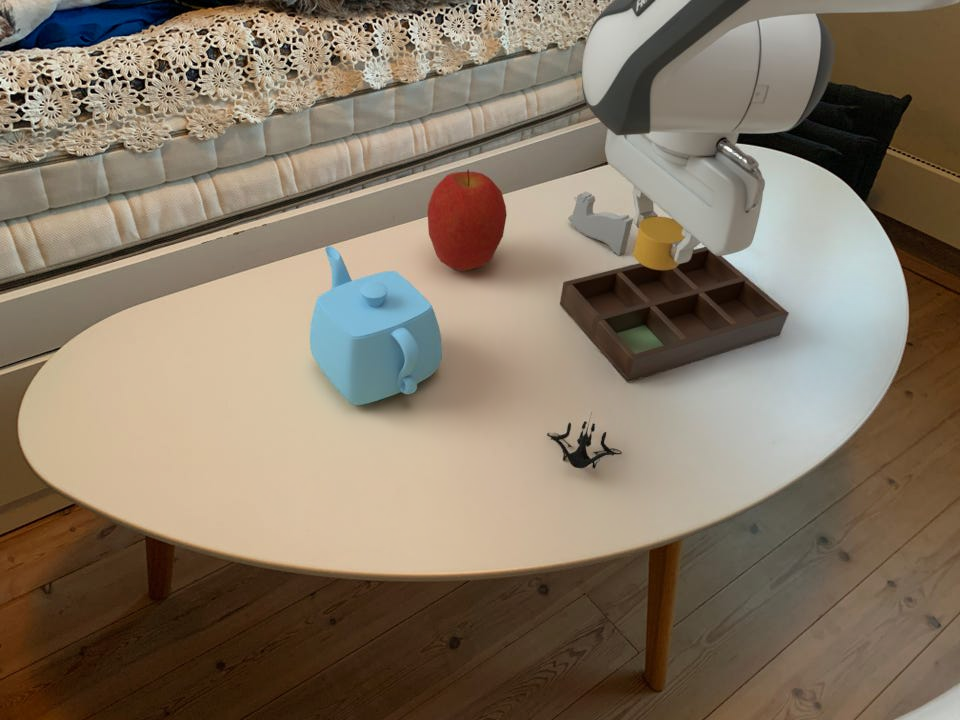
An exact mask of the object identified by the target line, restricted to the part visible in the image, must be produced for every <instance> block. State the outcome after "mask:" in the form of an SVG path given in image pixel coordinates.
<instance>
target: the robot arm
mask: <svg viewBox="0 0 960 720" xmlns="http://www.w3.org/2000/svg"><path fill="white" fill-rule="evenodd" d="M958 3H960V0H613V1H612V2H610V3H609V5H607V6H606V7H605V8H604V9H603V11H601V13H600V14H599V15H598V16H597V18H595V20H594V22H593V24H592V26H591V28H590V29H589V32H588V35H587V39H586V42H585V46H584V52H583V57H582V64H581V65H582V66H581V87H582V88H581V89H582V93H583V99H584V102H585V104H586V106H587V108H588V109H589V110H590V111H591V113H593V115H594V116H595V117H596V119H598V121H600V123H602V124H603V125H604V126H605V127H606V129H607V131H606V136H605V137H606V138H605V144H604V146H605V147H604V153H605V157H606V161H607V164H608V165H609V166H610V167H611V168H613V169H614V170H615V171H616V172H617V173H619V174H620V175H621V176H622V177H623V178H625V179H626V180H627V181H628V182H629V183H630V184H632V185H633V187H632V191H631V193H632V198H633V204H634V209H635V214H634V218H633V224H634V225H635V226H636V227H637V228H638V229H639V226H640V223H641V222H642V221H643V220H644V219H646V218H649V217H656V216H658V214H657V213H656V212H655V211H654V204H655V206H657V207H658V208H659V209H661V210H662V211H663V212H664V213H665V214H666V215H667V216H669V218H671V219H674V220H675V221H676V222H677V223H678V224H679V225H681V226H682V227H683V230H682V235H683V236H684V237H685V238H684V239H683V240H680V242H678V241H676V242H672V243H671V247H670V252H669V256H670V257H671V258H672V259H673V260H674V261H675V262H676V263H678V264H681V263H685V262H688V261H689V260H690V259H691V256H692V253H693V250H695V248H696V247H697V246H699V245H702V246H703V247H706V248H707V249H709V250H710V251H711V252H712V253H713V254H715V255H716V256H722V257H724V256H727V255H732V254H736V253H739V252H742V251H744V250H746V249H747V248H749V247H750V246H751V245H752V243H753V241H754V238H755V236H756V235H755V234H756V232H757V227H758V223H759V219H760V214H761V209H762V203H763V195H764V190H765V186H766V181H765V180H766V179H764V176H763V174H762V171H761V169H760V168H759V167H760V164H759V162H758V160H756V158H754V157H753V156H751V155H749V154H746V153H745V152H744V151H742V150H741V149H740V148H739V147H738V146H737V142H738V139H739V136H740V134H775V133H780V132H781V133H782V132H789V131H791V130H793V129H795V128H796V127H798V126H799V125H800V124H801V123H802V122H803V121H804V120H805V119H807V118H808V117H809V115H811V113H812V112H813V110H814V109H816V107H817V106H818V104H819V102H820V101H821V99H822V97H823V95H824V93H825V91H826V89H827V87H828V85H829V82H830V79H831V75H832V71H833V67H834V63H835V56H836V46H835V42H834V39H833V36H832V34H831V32H830V30H829V28H828V25H827V24H826V23H825V21H824V20H823V19H822V17H821V16H820V15H819V14H846V13H847V14H848V13H849V14H850V13H852V14H853V13H898V12H900V13H902V12H918V11H928V10H935V9H940V8H944V7H948V6H952V5H955V4H958ZM893 720H960V682H958V683H957V684H955V685H954V686H952V687H951V688H949V689H948V690H946V691H945V692H943V693H942V694H940V695H938V696H936V697H934V698H933V699H931V700H930V701H928V702H926V703H925V704H923V705H921V706H919V707H917V708H916V709H914V710H911V711H909V712H906V713H905V714H902V715H900V716H898V717H896V718H894V719H893Z"/></svg>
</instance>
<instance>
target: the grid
mask: <svg viewBox="0 0 960 720" xmlns="http://www.w3.org/2000/svg"><path fill="white" fill-rule="evenodd" d="M559 305H560V306H561V307H562V309H563V310H564V311H565V312H566V313H567V315H568V316H569V317H570V318H571V319H572V320H573V321H574V323H575V324H576V325H577V326H578V327H579V328H580V330H581V331H582V332H583V333H584V334H585V336H587V338H588V339H589V340H590V341H591V342H592V343H593V345H594V346H595V347H596V348H597V349H598V350H599V351H600V353H601V354H602V355H603V356H604V357H605V359H606V360H607V361H608V362H609V363H610V364H611V366H613V368H614V369H615V370H616V371H617V372H618V373H619V375H620V376H621V377H622V378H623V379H624V381H626V383H631V382H634V381H637V380H640V379H644V378H647V377H649V376H653V375H657V374H659V373H663V372H666V371H669V370H672V369H676V368H678V367H681V366H685V365H688V364H691V363H695V362H698V361H700V360H704V359H707V358H711V357H713V356H717V355H721V354H724V353H726V352H730V351H732V350H736V349H739V348H743V347H745V346H749V345H752V344H755V343H758V342H762V341H765V340H769V339H771V338H775V337H778V336H781V333H782V331H783V329H784V326H785V323H786V321H787V319H788V316H789V315H790V312H788V311H787V310H786V309H785V308H784V307H782V306H781V305H780V304H779V303H778V302H777V301H775V300H774V299H773V298H772V297H771V296H769V294H767V293H766V292H765V291H764V290H762V289H761V288H760V287H759V286H758V285H756V284H755V283H754V282H753V281H752V280H751V279H750V278H749V277H747V276H746V275H745V274H744V273H742V271H740V270H739V269H738V268H737V267H735V266H734V265H733V264H732V263H731V262H729V261H728V260H727V258H725V257H724V256H716V255H715V254H713V253H712V252H711V251H710V250H709V249H707V248H706V247H705V246H702V247H700V248H694V250H693V253H692V256H691V259H690V260H689V261H688V262H685V263H681V264H679V265H678V266H677V267H675V268H673V269H670V270H655V269H651V268H648V267H646V266H644V265H642V264H640V263H639V262H638V263H634V264H631V265H626V266H623V267H618V268H614V269H611V270H606V271H603V272H598V273H594V274H590V275H585V276H582V277H579V278H574V279H569V280H565V281H563V283H562V288H561V293H560V301H559Z"/></svg>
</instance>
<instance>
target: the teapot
mask: <svg viewBox="0 0 960 720" xmlns="http://www.w3.org/2000/svg"><path fill="white" fill-rule="evenodd" d="M325 254H326V257H327V260H328V261H329V266H330V271H331V287H330V288H331V289H329V290H327V291H325V292H323V293H322V294H321V295H319V296H317V298H316V301H315V304H314V307H313V312H312V316H311V322H310V329H309V347H310V351H311V355H312V357H313V359H314V361H315V362H316V364H317V366H318V367H319V369H320V370H321V372H322V373H323V374H324V376H325V377H326V378H327V380H328V382H330V383H331V385H332V386H333V387H334V388H335V389H336V390H337V391H338V393H339V394H340V395H341V396H342V397H343V398H344V399H345V400H346V401H347V402H348V403H349V404H351V405H354V406H360V405H361V406H362V405H368V404H371V403H374V402H377V401H380V400H383V399H386V398H390V397H392V396H396V395H398V394H400V393H403V394H405V395H412V394H414V393H415V392H416V391H417V389H418V384H419V383H421V382H423V381H425V380H426V379H428V378H429V377H431V376H432V375H433V374H434V373H436V372H437V370H438V368H439V366H440V365H441V362H442V359H443V342H442V334H441V330H440V325H439V322H438V319H437V316H436V313H435V310H434V308H433V305H432V304H431V302H430V301H429V300H428V299H427V298H426V296H424V295H423V294H422V293H421V292H420V291H419V289H417V288H416V287H415V286H414V285H413V284H412V283H411V282H410V281H408V280H407V279H406V277H404V276H403V275H401V274H400V273H399V272H398V271H395V270H387V271H381V272H376V273H373V274H369V275H365V276H362V277H359V278H356V279H354V280H352V278H351V275H350V273H349V271H348V269H347V266H346V264H345V261H344V259H343V258H342V255H341V253H340V252H339V251H338V250H337V249H336V248H335V247H333V246H332V245H328V246H325Z"/></svg>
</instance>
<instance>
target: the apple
mask: <svg viewBox="0 0 960 720" xmlns="http://www.w3.org/2000/svg"><path fill="white" fill-rule="evenodd" d="M503 195H504V194H503V192H502V190H501V189H500V188H499V187H498V186H497V185H496V183H495V182H494V181H493V179H491V178H490V177H489V176H487V175H486V174H485V173H481V172H476V171H469V169H468V168H467V170H466V171H458V172H452V173H448V174H446V176H444V178H443V179H441V180H440V181H439V182H438V184H437V185H436V186H435V187H434V188H433V191H432V193H431V195H430V199H429V201H428V205H427V226H428V235H429V238H430V241H431V244H432V246H433V249H434V252H435V255H436V257H437V258H438V260H439V261H440V263H442V264H444V265H445V266H446V267H449V268H451V269H454V270H456V271H461V272H463V271H470V270H473V269H476V268H479V267H482V266H483V265H486V264H487V263H489V262H491V260H492V258H493V257H494V255H495V253H496V251H497V249H498V248H499V245H500V243H501V241H502V239H503V238H504V233H505V227H506V222H507V216H508V214H507V206H506V202H505V199H504V196H503Z"/></svg>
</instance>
